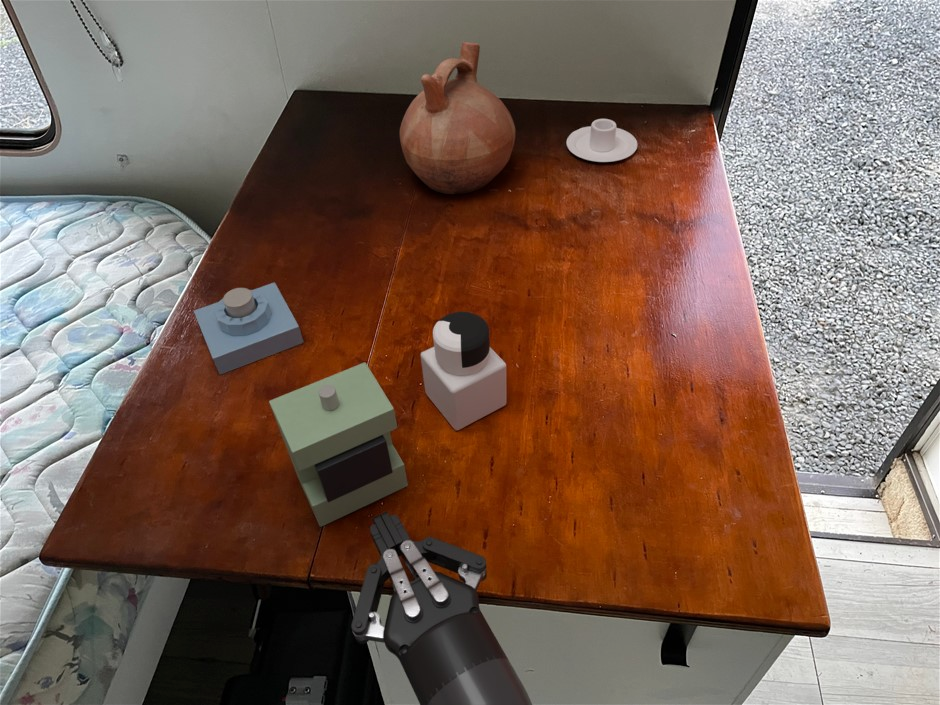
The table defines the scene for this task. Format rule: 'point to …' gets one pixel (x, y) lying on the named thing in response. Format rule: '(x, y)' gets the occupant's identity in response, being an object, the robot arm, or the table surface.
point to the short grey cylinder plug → (239, 302)
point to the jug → (457, 128)
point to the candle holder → (602, 142)
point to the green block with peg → (338, 435)
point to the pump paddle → (354, 468)
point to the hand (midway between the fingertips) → (380, 519)
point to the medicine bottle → (463, 370)
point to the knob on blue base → (249, 330)
